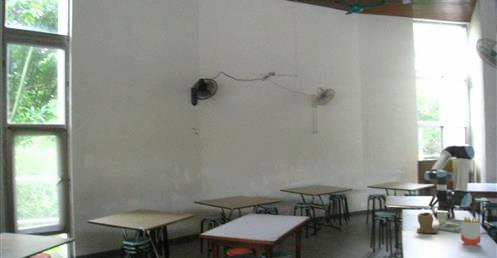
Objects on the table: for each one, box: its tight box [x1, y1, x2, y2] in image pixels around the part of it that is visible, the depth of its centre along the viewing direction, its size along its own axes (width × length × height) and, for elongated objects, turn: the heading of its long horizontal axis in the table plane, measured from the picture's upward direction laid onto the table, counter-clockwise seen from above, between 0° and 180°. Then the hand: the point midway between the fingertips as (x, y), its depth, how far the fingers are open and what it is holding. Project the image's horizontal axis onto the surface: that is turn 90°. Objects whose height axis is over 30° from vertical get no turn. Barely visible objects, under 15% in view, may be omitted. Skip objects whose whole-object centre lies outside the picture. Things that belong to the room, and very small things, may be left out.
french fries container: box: [460, 216, 481, 246], centre depth 277 cm, size 5×11×18 cm, turn 70°
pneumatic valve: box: [433, 210, 451, 226], centre depth 336 cm, size 6×12×12 cm, turn 61°
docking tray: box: [437, 222, 461, 234], centre depth 320 cm, size 17×16×2 cm
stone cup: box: [416, 211, 439, 234], centre depth 309 cm, size 15×12×15 cm
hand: (442, 216), depth 336 cm, fingers open, 13 cm apart
